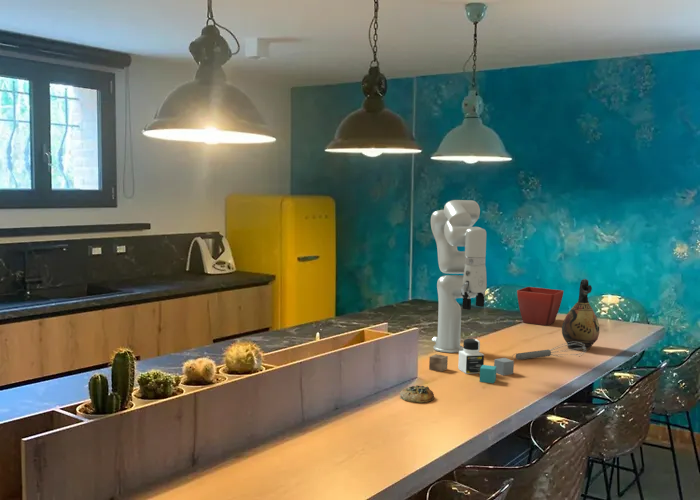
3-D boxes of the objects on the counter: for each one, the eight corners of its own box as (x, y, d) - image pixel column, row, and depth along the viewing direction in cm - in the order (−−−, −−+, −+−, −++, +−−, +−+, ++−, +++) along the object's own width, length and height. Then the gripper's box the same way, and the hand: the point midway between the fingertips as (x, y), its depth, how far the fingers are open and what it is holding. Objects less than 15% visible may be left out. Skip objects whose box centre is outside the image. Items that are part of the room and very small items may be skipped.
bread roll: (431, 392, 227) (431, 378, 226) (436, 408, 217) (436, 393, 215) (398, 393, 227) (398, 379, 226) (401, 409, 216) (401, 394, 215)
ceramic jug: (601, 353, 288) (604, 283, 285) (562, 351, 291) (566, 281, 288) (595, 344, 305) (598, 277, 302) (559, 342, 308) (562, 276, 305)
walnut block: (429, 369, 257) (429, 356, 256) (435, 367, 261) (435, 354, 261) (441, 372, 254) (441, 358, 254) (447, 369, 258) (447, 356, 258)
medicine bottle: (466, 374, 251) (467, 342, 250) (457, 369, 258) (459, 337, 257) (483, 373, 253) (484, 341, 252) (475, 368, 260) (476, 337, 259)
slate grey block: (493, 372, 255) (494, 359, 255) (503, 370, 257) (504, 357, 257) (503, 375, 251) (503, 362, 250) (513, 374, 253) (513, 360, 253)
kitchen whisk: (508, 358, 277) (509, 343, 277) (580, 354, 287) (581, 340, 286) (516, 362, 272) (516, 346, 271) (589, 358, 281) (590, 343, 281)
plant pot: (562, 322, 356) (564, 289, 355) (552, 327, 340) (553, 294, 338) (526, 317, 366) (528, 286, 365) (514, 323, 350) (516, 290, 349)
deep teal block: (479, 381, 242) (480, 368, 242) (481, 378, 247) (482, 364, 246) (493, 383, 240) (494, 369, 240) (495, 379, 245) (496, 366, 244)
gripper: (472, 264, 243) (470, 311, 244) (495, 261, 256) (493, 306, 258) (453, 262, 248) (452, 309, 249) (477, 259, 261) (476, 304, 262)
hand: (473, 307), depth 253 cm, fingers open, 9 cm apart
